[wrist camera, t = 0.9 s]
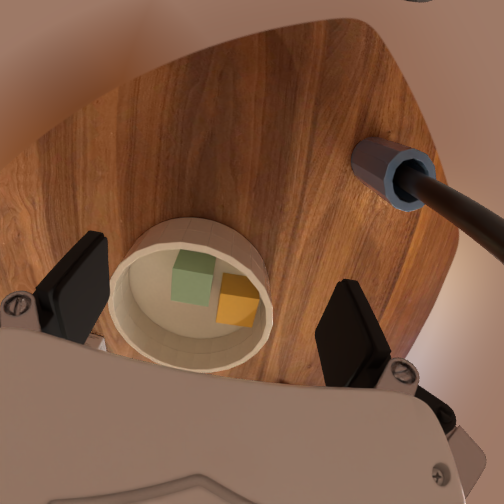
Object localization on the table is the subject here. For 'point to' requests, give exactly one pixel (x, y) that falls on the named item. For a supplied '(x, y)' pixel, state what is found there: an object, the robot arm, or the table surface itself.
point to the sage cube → (192, 277)
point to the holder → (389, 169)
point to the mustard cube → (237, 301)
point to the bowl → (183, 314)
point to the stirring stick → (455, 208)
